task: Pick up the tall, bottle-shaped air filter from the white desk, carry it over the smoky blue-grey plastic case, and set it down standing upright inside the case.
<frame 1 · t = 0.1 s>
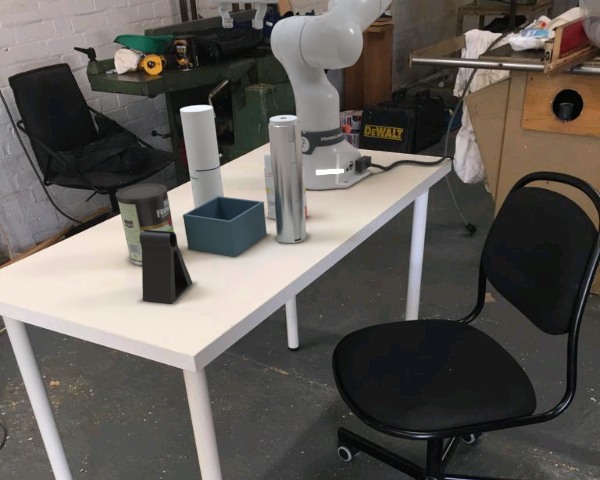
hand: (242, 28, 139), 39 cm above the table, tool pointing down, fingers open, 8 cm apart
cylindrical container: (211, 221, 154), on the table
ink cartridge box: (287, 218, 153), on the table
case: (228, 242, 142), on the table
coffee can: (154, 257, 138), on the table
phone stand: (168, 293, 123), on the table
air filter: (291, 238, 142), on the table
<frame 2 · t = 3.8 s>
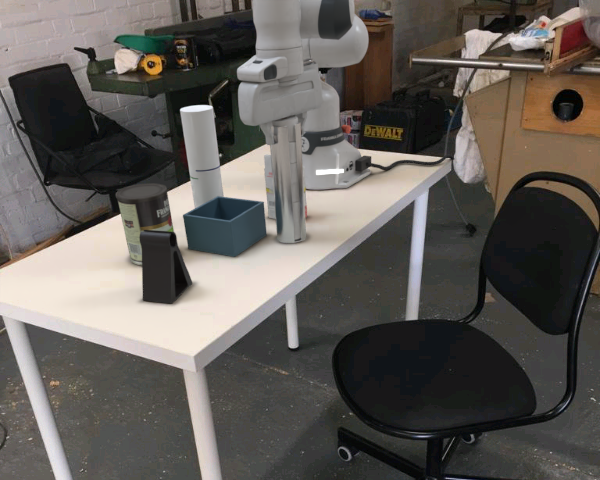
hand: (285, 140, 130), 21 cm above the table, tool pointing down, fingers closed on air filter, 6 cm apart
air filter: (291, 238, 142), on the table, touching gripper
everything else where it was.
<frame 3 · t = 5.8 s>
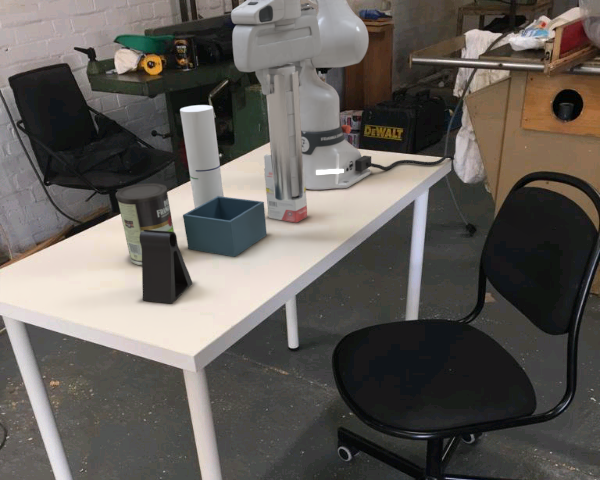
hand: (282, 90, 125), 30 cm above the table, tool pointing down, fingers closed on air filter, 6 cm apart
air filter: (289, 196, 137), point 9 cm above the table, touching gripper
everything else where it was.
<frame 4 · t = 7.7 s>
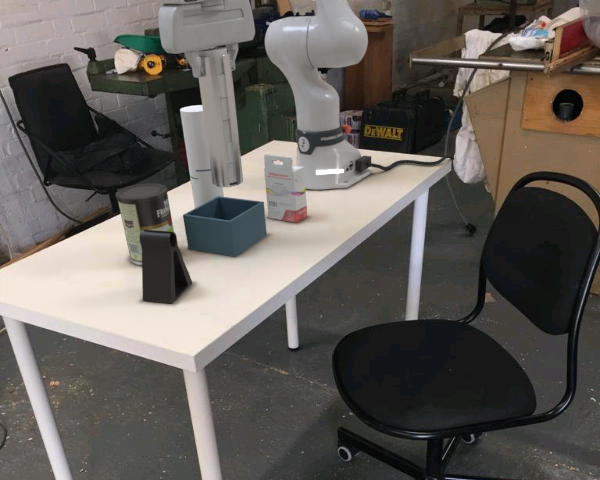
hand: (214, 73, 123), 34 cm above the table, tool pointing down, fingers closed on air filter, 6 cm apart
air filter: (228, 183, 135), point 13 cm above the table, touching gripper
everything else where it was.
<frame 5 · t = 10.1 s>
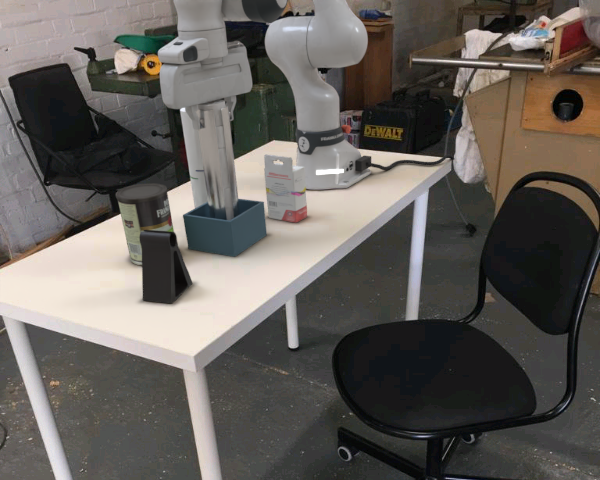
hand: (213, 124, 128), 24 cm above the table, tool pointing down, fingers closed on air filter, 6 cm apart
air filter: (226, 225, 140), point 4 cm above the table, touching gripper
everything else where it was.
when the fingers open (21 cm above the table, at t = 11.8 s): air filter stays where it is, resting on case.
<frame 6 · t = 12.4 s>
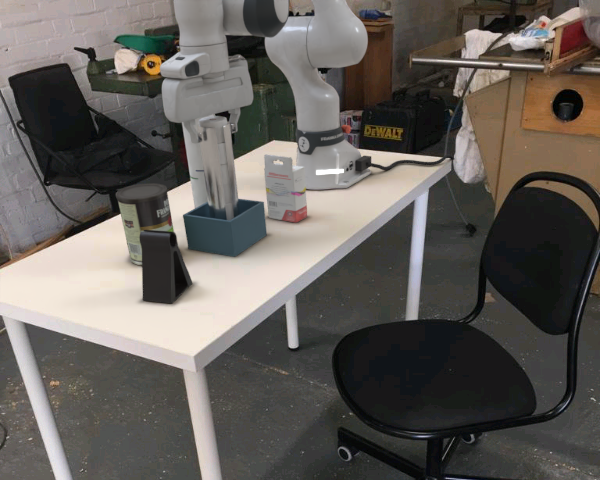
hand: (215, 137, 129), 22 cm above the table, tool pointing down, fingers open, 8 cm apart
air filter: (228, 239, 142), resting on case
everything else where it was.
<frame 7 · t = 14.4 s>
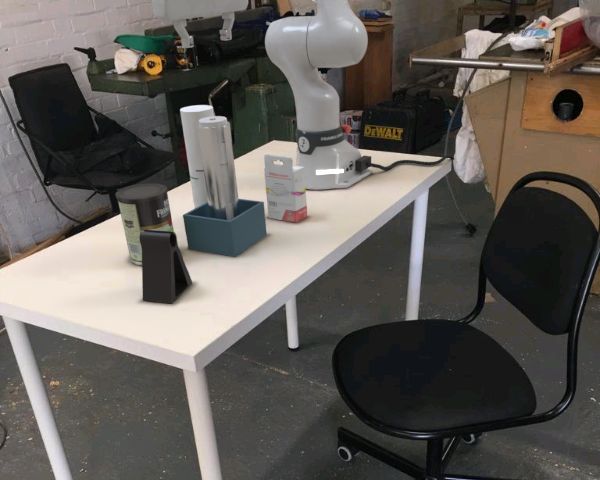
hand: (207, 43, 122), 38 cm above the table, tool pointing down, fingers open, 8 cm apart
nothing on the table moved.
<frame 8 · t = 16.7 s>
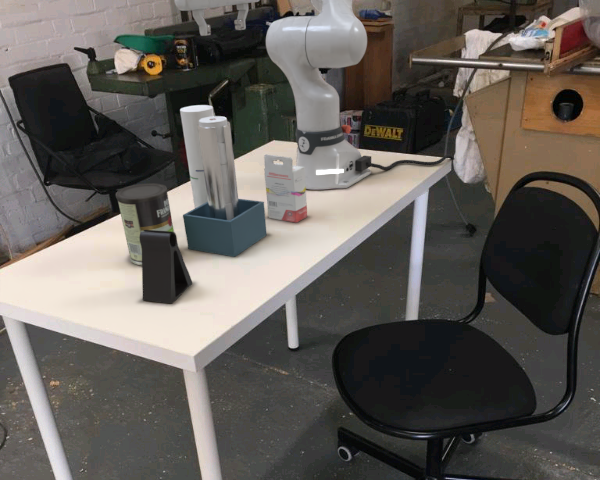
hand: (223, 32, 131), 39 cm above the table, tool pointing down, fingers open, 8 cm apart
nothing on the table moved.
at the end: air filter inside the target area in the case (0.2 cm from its centre), point 0.4 cm above the case's base; air filter tilted 0°; the gripper is holding nothing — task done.
